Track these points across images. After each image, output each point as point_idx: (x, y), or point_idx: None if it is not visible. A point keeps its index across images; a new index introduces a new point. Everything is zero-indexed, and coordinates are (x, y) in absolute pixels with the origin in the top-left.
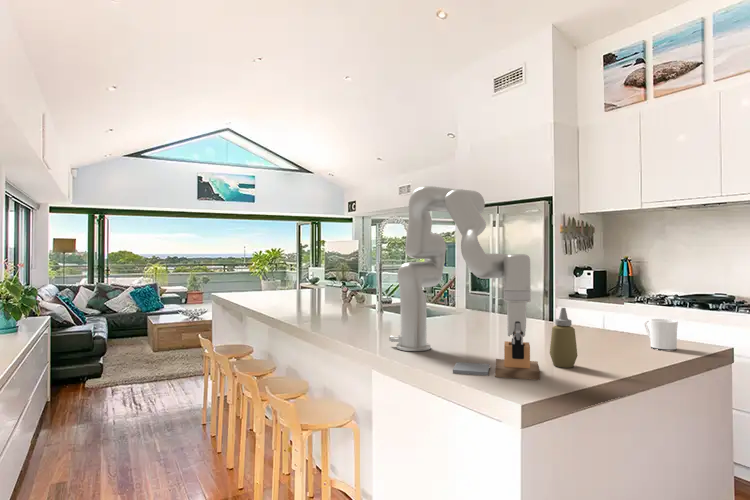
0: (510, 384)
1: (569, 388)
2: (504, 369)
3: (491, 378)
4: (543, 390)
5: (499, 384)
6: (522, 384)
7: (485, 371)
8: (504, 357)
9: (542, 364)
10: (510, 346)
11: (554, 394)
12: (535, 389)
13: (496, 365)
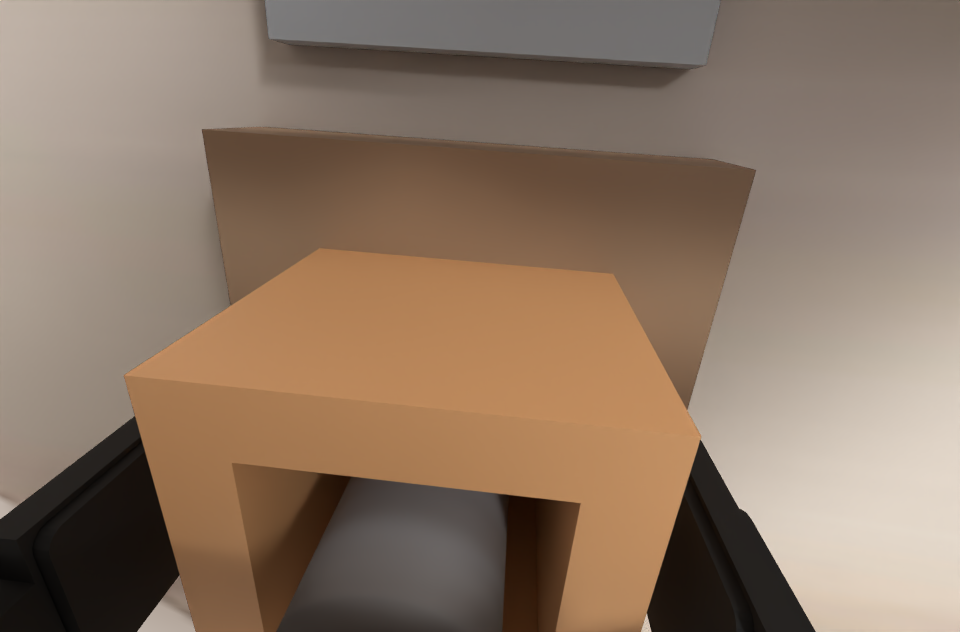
0: (79, 253)
1: (178, 577)
2: (225, 239)
3: (195, 83)
4: (54, 447)
5: (26, 157)
6: (128, 343)
7: (287, 1)
8: (263, 285)
9: (822, 571)
10: (162, 474)
11: (7, 486)
12: (48, 407)
13: (352, 153)
